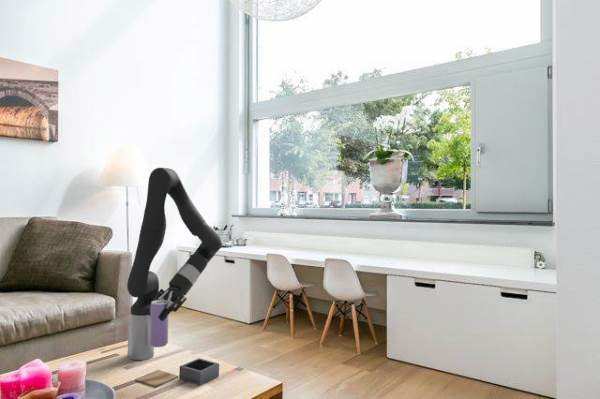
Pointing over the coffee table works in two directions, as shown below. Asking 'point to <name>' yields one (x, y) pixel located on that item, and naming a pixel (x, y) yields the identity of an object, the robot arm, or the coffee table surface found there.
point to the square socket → (199, 371)
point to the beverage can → (158, 324)
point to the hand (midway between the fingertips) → (155, 317)
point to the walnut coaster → (157, 378)
